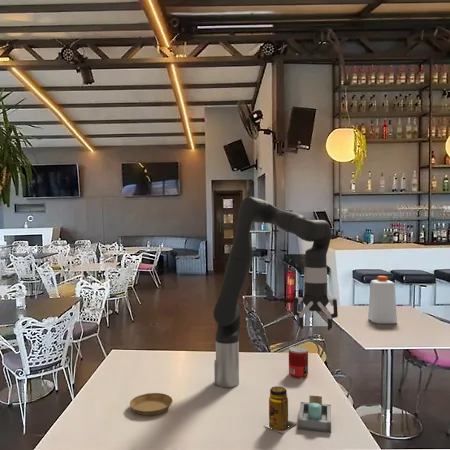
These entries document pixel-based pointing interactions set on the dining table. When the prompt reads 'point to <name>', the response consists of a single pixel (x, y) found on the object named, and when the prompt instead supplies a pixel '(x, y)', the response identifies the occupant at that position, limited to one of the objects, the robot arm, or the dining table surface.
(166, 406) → the plant saucer
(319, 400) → the walnut block
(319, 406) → the teal cylinder
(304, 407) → the collection tray
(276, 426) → the condiment
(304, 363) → the canned food
